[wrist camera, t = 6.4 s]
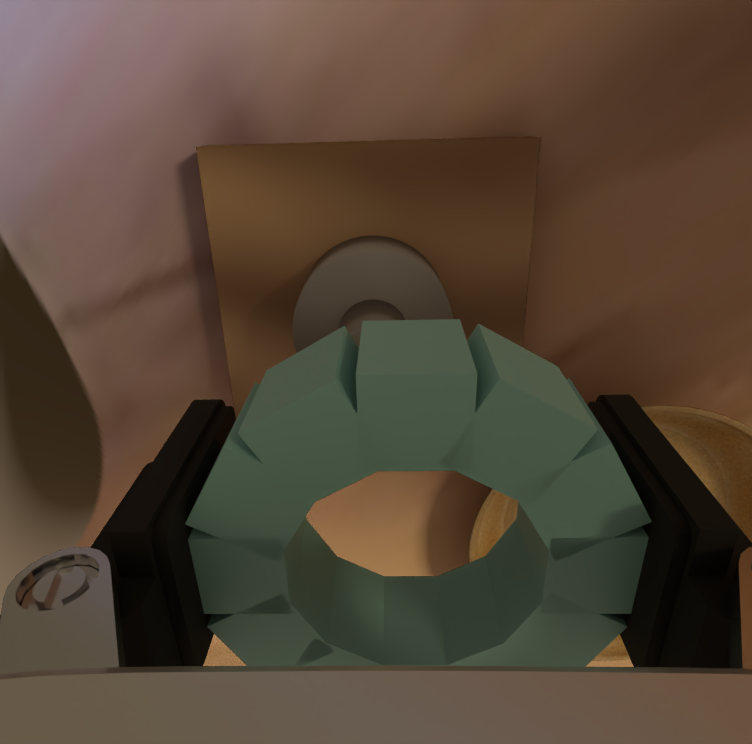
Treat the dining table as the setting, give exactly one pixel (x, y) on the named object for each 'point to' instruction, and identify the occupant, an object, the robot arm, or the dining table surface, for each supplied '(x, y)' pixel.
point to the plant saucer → (698, 449)
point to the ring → (417, 453)
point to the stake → (365, 240)
